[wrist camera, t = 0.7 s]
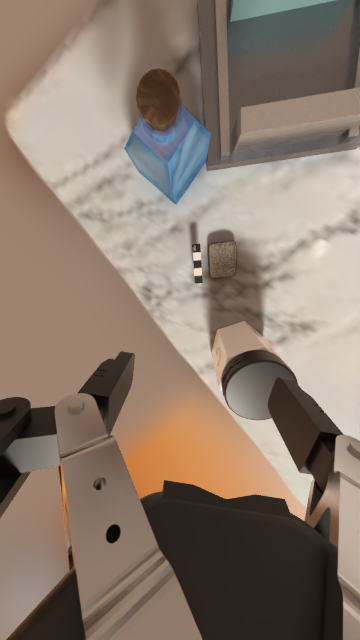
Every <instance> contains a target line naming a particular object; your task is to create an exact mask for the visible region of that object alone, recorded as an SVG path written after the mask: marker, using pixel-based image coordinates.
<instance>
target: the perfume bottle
mask: <svg viewBox="0 0 360 640" xmlns="http://www.w3.org/2000/svg"><path fill="white" fill-rule="evenodd" d="M136 99H137V105H138V109H139V116H140V119H139V121H138V123H137V125H136V126H135V128H134V130H133V132H132V134H131V136H130V138H129V140H128V142H127V144H126V146H125V148H124V149H125V150H126V152H127V154H128V155H129V157H130V158H131V160H132V162H133V163H134V165H135V167H136V168H137V170H138V171H139V173H141V174H142V175H143V176H144V177H145V178H146V179H147V180H149V181H150V182H151V183H152V184H153V185H154V186H155V187H157V188H158V189H159V190H160V191H161V192H162V193H163V194H164V195H166V196H167V197H168V198H169V199H170V200H171V201H172V202H174V203H175V204H177V203H178V201H179V200H180V198H181V197H182V196H183V194H184V193H185V191H186V190H187V188H188V187H189V185H190V184H191V182H192V181H193V179H194V178H195V177H196V175H197V174H198V172H199V171H200V169H201V168H202V166H203V165H204V163H205V162H206V158H207V153H208V147H209V141H210V136H211V133H210V132H209V131H208V130H207V129H206V128H205V127H204V126H203V125H202V124H201V123H200V122H199V121H198V120H197V119H196V118H195V117H194V116H193V115H192V114H191V113H190V112H189V111H188V110H187V109H186V108H185V107H184V106H183V105H182V100H181V97H180V92H179V87H178V85H177V82H176V80H175V79H174V77H173V76H172V74H170V73H169V72H167V71H166V70H163V69H159V68H158V69H153V70H150V71H149V72H147V73H146V74H145V75H144V76H143V78H142V79H141V80H140V83H139V85H138V88H137V96H136Z"/></svg>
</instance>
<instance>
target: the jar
mask: <svg viewBox="0 0 360 640" xmlns="http://www.w3.org/2000/svg"><path fill="white" fill-rule="evenodd" d="M211 354H212V359H213V363H214V368H215V372H216V377H217V382H218V386H219V388H220V389H221V390H222V392H223V395H224V397H225V400H226V403H227V405H228V406H229V408H230V409H231V410H232V411H233V412H234V413H236V414H237V415H239V416H241V417H243V418H246V419H251V420H265V419H270V418H272V417H271V415H270V413H269V410H268V399H269V396H270V394H271V391H272V388H273V386H274V383H275V380H276V379H277V378H278V377H281V378H287V379H293V380H294V381H295V382H296V383H297V379H296V377H295V375H294V373H293V372H292V371H291V369H290V367H289V366H288V364H287V363H286V362H285V361H284V360H283V359H282V358H281V356H280V355H279V354H278V353H277V352H276V351H275V350H274V349H273V347H272V346H271V345H270V344H269V343H268V342H267V341H266V339H265V338H264V337H263V336H262V335H260V334H259V333H258V332H257V331H256V330H255V329H253V328H252V327H251V326H250V325H249V324H248V323H246V322H245V321H242V322H239V323H236V324H233V325H230V326H227V327H223V328H220V329H218V330H217V332H216V337H215V341H214V345H213V349H212V353H211ZM297 384H298V383H297Z"/></svg>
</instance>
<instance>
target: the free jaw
mask: <svg viewBox="0 0 360 640" xmlns="http://www.w3.org/2000/svg"><path fill="white" fill-rule="evenodd" d="M330 1H335V0H230V22H232V21H237V20H242V19H247V18H252V17H257V16H262V15H266V14H271V13H276V12H281V11H286V10H291V9H296V8H301V7H306V6H311V5H316V4H320V3H325V2H330Z"/></svg>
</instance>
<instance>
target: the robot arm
mask: <svg viewBox="0 0 360 640" xmlns="http://www.w3.org/2000/svg"><path fill="white" fill-rule="evenodd" d="M134 358H135V354H134V353H128V352H122V351H121V352H120V353H119V355H118V356H117V357H116V359H115V360H113V359H108V360H106V361H104V362H103V363H101V364H100V366H99V367H98V368H97V370H96V371H95V372H94V373H93V375H92V376H91V377H90V378H89V379H88V381H87V382H86V383H85V384H84V386H83V387H82V388H81V389H80V391H79V392H78V393H77V394H72V395H69V396H67V397H65V398H63V399H62V400H60V401H59V402H58V403H57V405H56V406H51V407H41V408H31V405H30V402H29V401H28V400H27V399H25V398H21V397H13V398H7V399H3V400H0V518H1V516H2V515H3V513H4V512H5V510H6V509H7V507H8V506H9V504H10V502H11V501H12V500H13V498H14V497H15V495H16V494H17V492H18V491H19V489H20V488H21V486H22V485H23V483H24V482H25V480H26V479H27V477H28V475H29V474H30V472H31V471H36V470H41V469H47V468H52V467H58V470H59V480H60V489H61V498H62V507H63V517H64V527H65V537H66V538H65V539H66V548H67V558H68V567H69V572H68V573H67V574H66V575H65V576H64V577H63V579H62V580H61V581H60V582H59V583H58V584H57V585H56V586H55V587H54V589H52V591H51V592H50V593H49V594H48V595H47V596H46V597H45V598H44V599H43V600H42V601H41V602H40V604H39V605H38V606H37V607H36V608H35V609H34V610H33V611H32V612H31V613H30V614H29V615H28V617H27V618H26V619H25V620H24V621H23V622H22V623H21V624H20V625H19V626H18V627H17V628H16V630H15V631H14V632H13V633H12V634H11V635H10V636H9V637H8V638H7V639H6V640H360V441H359V440H357V439H355V438H353V437H350V436H347V435H344V434H343V433H342V432H341V431H340V430H339V429H338V427H337V426H336V425H335V424H334V423H333V422H332V420H331V419H330V418H329V417H328V416H327V414H326V413H324V411H323V410H322V409H321V407H319V406H318V404H317V403H316V401H315V400H314V399H313V398H312V397H311V396H310V395H308V394H307V393H306V392H304V391H303V390H302V389H301V388H300V387H299V386H298V384H297V383H296V382H295V381H294V380H293V379H287V378H281V377H278V378H277V379H276V380H275V383H274V386H273V388H272V391H271V394H270V396H269V399H268V410H269V413H270V415H271V417H272V419H273V421H274V423H275V425H276V427H277V429H278V430H279V432H280V434H281V436H282V438H283V440H284V442H285V444H286V446H287V448H288V450H289V452H290V454H291V456H292V458H293V460H294V462H295V464H296V466H297V468H298V470H299V472H300V473H306V474H312V475H313V477H314V479H313V481H312V483H311V487H310V492H309V498H308V504H307V510H306V516H305V521H303V520H301V519H300V518H298V517H297V516H295V515H293V514H291V513H290V512H289V509H288V507H287V504H286V501H285V499H280V498H273V497H267V496H261V495H250V496H244V497H238V498H232V499H224V498H222V497H219V496H217V495H215V494H213V493H211V492H208V491H206V490H204V489H202V488H200V487H197V486H195V485H191V484H185V483H178V482H172V481H165V480H164V484H163V490H162V492H156V493H153V494H150V495H147V496H145V497H143V498H141V499H139V496H138V494H137V491H136V489H135V487H134V484H133V481H132V479H131V476H130V474H129V471H128V469H127V466H126V464H125V461H124V459H123V456H122V454H121V451H120V449H119V446H118V444H117V441H116V439H115V437H114V436H110V433H111V431H112V429H113V426H114V424H115V422H116V420H117V417H118V415H119V413H120V411H121V408H122V406H123V404H124V401H125V399H126V397H127V395H128V392H129V390H130V387H131V384H132V379H133V370H134Z"/></svg>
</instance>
